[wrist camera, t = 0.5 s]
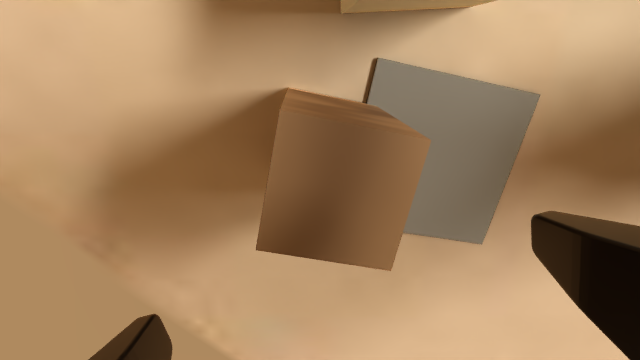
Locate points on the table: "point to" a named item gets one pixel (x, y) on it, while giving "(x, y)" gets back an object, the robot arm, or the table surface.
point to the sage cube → (403, 5)
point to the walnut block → (339, 181)
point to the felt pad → (455, 144)
